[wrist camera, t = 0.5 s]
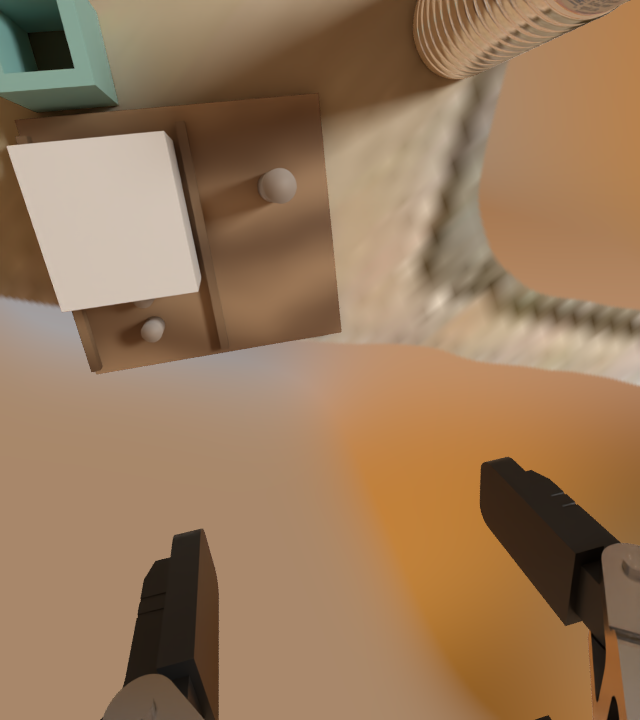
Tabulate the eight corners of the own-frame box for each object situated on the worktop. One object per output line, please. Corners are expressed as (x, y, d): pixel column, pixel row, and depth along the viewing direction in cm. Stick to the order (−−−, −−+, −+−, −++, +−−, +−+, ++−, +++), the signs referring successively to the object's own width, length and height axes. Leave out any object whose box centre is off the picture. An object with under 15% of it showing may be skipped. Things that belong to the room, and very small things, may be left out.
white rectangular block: (41, 153, 28) (6, 146, 23) (172, 140, 29) (163, 130, 25) (85, 294, 31) (61, 312, 27) (201, 277, 32) (198, 291, 28)
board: (22, 122, 28) (-27, 105, 23) (314, 96, 31) (335, 75, 26) (100, 368, 35) (76, 403, 29) (337, 328, 38) (359, 352, 32)
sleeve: (7, 17, 27) (-48, -29, 21) (96, 12, 27) (65, -33, 22) (36, 112, 28) (-8, 93, 23) (118, 105, 29) (95, 84, 24)
